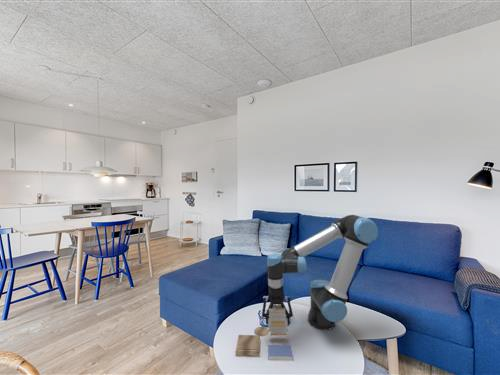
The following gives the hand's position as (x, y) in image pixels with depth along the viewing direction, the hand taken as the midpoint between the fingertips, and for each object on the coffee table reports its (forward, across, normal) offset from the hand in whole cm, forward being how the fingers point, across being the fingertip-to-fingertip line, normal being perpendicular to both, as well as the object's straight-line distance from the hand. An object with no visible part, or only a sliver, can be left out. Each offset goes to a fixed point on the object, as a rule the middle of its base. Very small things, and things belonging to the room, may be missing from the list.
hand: (278, 329), depth 118 cm
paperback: (+6, 0, +10) cm, 11 cm away
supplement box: (+2, 0, 0) cm, 2 cm away
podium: (+5, +15, +6) cm, 17 cm away
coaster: (+6, +9, -7) cm, 13 cm away
